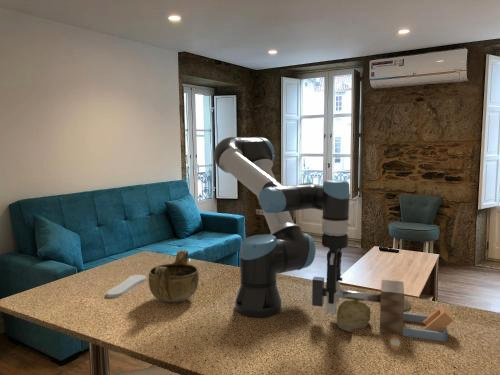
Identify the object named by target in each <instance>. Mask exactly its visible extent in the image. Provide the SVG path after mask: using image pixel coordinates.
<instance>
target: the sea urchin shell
mask: <svg viewBox="0 0 500 375" xmlns="http://www.w3.org/2000/svg"><path fill="white" fill-rule="evenodd" d="M378 304H379V305H381V303H378ZM410 308H411V303H410V301H409V299H408V298H407V297H406V296H405V295H404V311H408V310H410Z"/></svg>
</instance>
